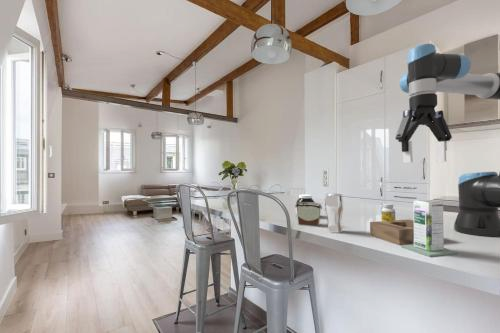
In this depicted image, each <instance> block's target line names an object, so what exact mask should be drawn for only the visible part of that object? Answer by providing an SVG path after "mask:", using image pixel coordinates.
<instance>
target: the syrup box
mask: <svg viewBox="0 0 500 333" xmlns="http://www.w3.org/2000/svg"><path fill="white" fill-rule="evenodd" d="M412 210H413V220H414V247H418V248H421V249H424V250H427V251H437V250H443V249H444V248H445V246H444V202H443V201H442V202H441V201H433V200H425V199H422V200H421V199H420V200H419V199H417V200H414V201H413V209H412Z"/></svg>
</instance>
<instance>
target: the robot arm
mask: <svg viewBox="0 0 500 333" xmlns="http://www.w3.org/2000/svg"><path fill="white" fill-rule="evenodd" d="M471 64H472V63H471V59H470V57H469V56H467V55H463V54H459V53H455V54H454V53H453V54H452V53H439V52H437V49H436V46H435V45H434V44H433V43H422V44H418V45H415V46H414V47H413V48H411V49H410V50H408V53H407V73H405V74H403V75H402V76H401V77H400V78H399V88H400V89H401V91H402V92H404V93H406V94H408V96H409V99H408V103H409V106H408V107H409V108H408V109H405V110H403V111H402V119H401V122H400V124H399V127H398V129H397V132H396V134H395V135H396V136H395V140H397V141H398V142H399V143H401V152H402V159H403V163H404V164H405V163H413V141H412V140H411V139H412V137H413V135H414V134H415V132H416V131H417V129H418V127H419V126H426V127H427V128H429V130H430V131H431V133H432V134H433V136H434V137H435V138H436V140H437V141H436V142H435V152H436V154H435V155H436V163H437V162H438V163H441V162H442V163H443V162H447V142H450V141H451V140H452V138H453V135H452V134H451V132H450V129H449V126H448V124H447V121H446V119H445V115H444V111H443V110H437V111H436V110H435V108H436V107H437V106H438V95H437V93H447V94H460V95H470V96H472V95H473V96H476V97H477V98H479V99H486V100H500V72H494V73H493V72H488V73H485V74H476V73H475V74H474V73H469V72H470V69H471V66H472V65H471ZM410 140H411V141H410ZM457 186H458V187H457V188H458V214H457V216H456V218H455V222H454V225H453V229H454V231H455V232H458V233H462V234H467V235H475V236H483V237H500V214H499V208H500V172H499V174H498V172H496V171H481V172H479V171H478V172H470V173H463V174H461V175H459V177H458V184H457Z"/></svg>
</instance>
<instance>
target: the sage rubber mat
mask: <svg viewBox="0 0 500 333" xmlns="http://www.w3.org/2000/svg"><path fill="white" fill-rule="evenodd" d="M401 248H403V249H406V250H409V251H412V252H414V253H418V254H420V255H423V256H425V257H429V258H432V257H439V256H448V255H449V256H450V255H456V254H458V252H457V251H456V250H453V249H449V248H445V247H444V249H443V250H437V251H427V250H424V249H421V248H418V247H414V244H407V245H401Z"/></svg>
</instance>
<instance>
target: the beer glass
mask: <svg viewBox="0 0 500 333" xmlns="http://www.w3.org/2000/svg"><path fill="white" fill-rule="evenodd" d="M343 198H344V197H343V194H341V193H326V194H325V201H324V203H325V206H324V207H325V213H326V219H327V227H326V232H327V233H330V234H331V233H332V234H333V233H334V234H340V233H343V226H342V218H343V211H344V199H343Z"/></svg>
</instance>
